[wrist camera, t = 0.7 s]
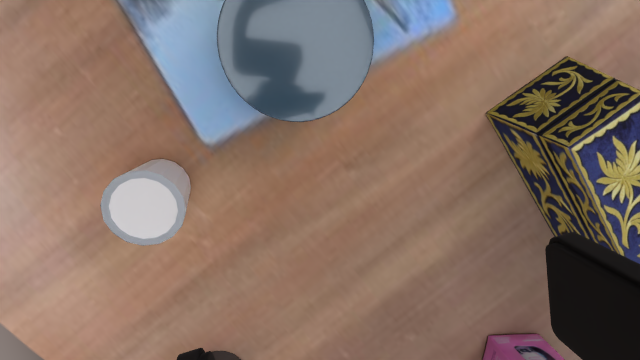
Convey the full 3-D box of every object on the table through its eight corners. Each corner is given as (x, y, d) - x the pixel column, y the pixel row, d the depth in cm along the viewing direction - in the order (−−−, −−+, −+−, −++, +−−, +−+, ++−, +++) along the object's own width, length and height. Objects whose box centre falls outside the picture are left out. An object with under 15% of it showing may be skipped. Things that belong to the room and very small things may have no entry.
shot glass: (110, 181, 39) (81, 205, 32) (163, 138, 38) (144, 153, 32) (160, 229, 41) (142, 260, 34) (211, 189, 41) (202, 213, 34)
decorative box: (584, 290, 53) (648, 334, 44) (485, 113, 43) (542, 124, 34) (651, 243, 52) (728, 278, 44) (565, 53, 43) (643, 49, 34)
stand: (193, 35, 36) (181, 29, 30) (299, -59, 35) (308, -84, 30) (284, 139, 40) (288, 152, 34) (381, 57, 40) (403, 55, 34)
